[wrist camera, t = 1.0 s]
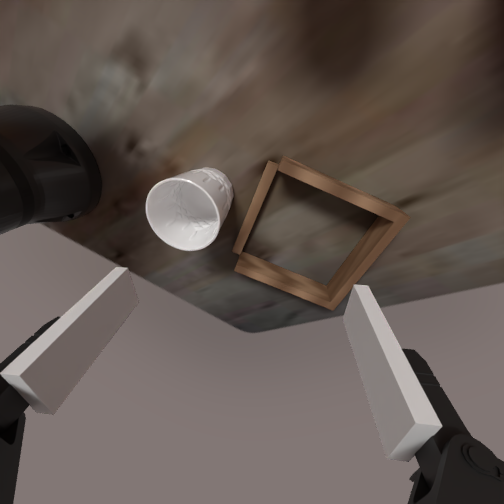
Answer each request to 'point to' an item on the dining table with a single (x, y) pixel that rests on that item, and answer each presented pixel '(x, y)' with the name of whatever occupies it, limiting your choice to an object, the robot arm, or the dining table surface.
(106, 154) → the dining table surface
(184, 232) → the white cup
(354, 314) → the robot arm
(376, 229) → the bay
